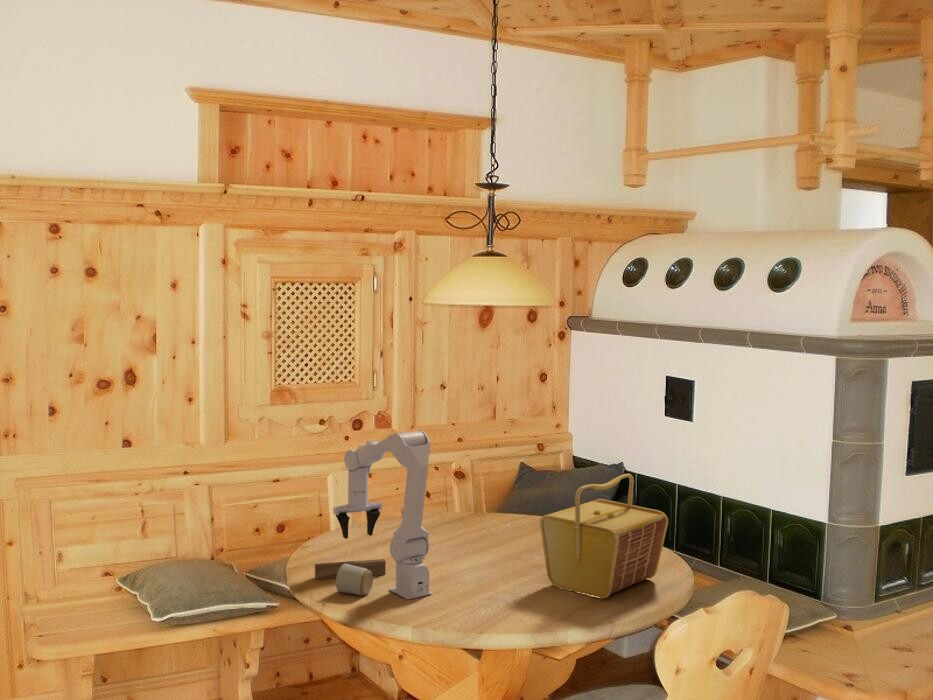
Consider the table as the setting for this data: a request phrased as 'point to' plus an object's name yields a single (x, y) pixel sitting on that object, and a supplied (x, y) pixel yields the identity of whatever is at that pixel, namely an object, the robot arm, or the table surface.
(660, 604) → the table surface
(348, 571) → the ceramic mug
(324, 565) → the rail
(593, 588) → the picnic basket
